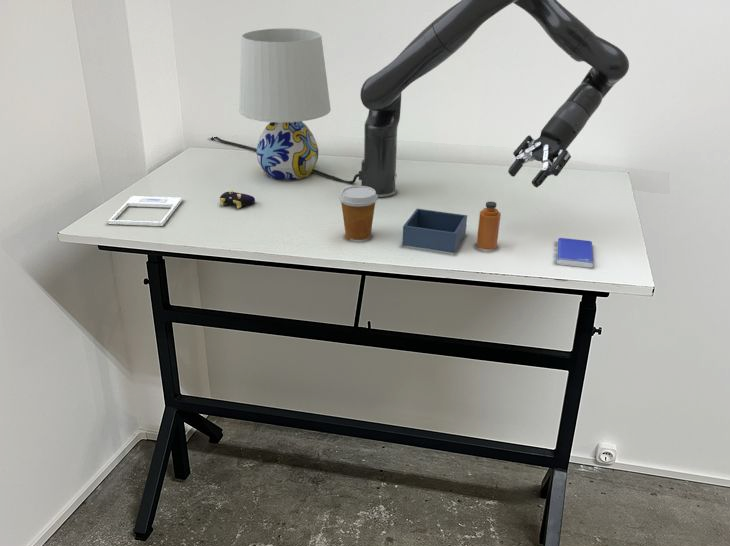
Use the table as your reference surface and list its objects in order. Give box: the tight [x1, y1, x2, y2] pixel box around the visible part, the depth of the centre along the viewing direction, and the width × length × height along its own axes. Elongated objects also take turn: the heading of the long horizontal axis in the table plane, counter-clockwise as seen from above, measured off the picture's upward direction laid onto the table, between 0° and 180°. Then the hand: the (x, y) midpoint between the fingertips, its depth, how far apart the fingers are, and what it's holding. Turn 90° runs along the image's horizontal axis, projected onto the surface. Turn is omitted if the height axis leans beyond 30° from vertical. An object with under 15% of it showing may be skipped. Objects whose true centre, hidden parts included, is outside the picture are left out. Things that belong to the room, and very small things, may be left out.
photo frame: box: [107, 195, 183, 227], centre depth 195 cm, size 15×1×18 cm
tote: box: [401, 208, 468, 254], centre depth 178 cm, size 13×12×6 cm
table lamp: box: [238, 27, 332, 181], centre depth 212 cm, size 27×27×40 cm
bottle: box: [476, 201, 501, 251], centre depth 174 cm, size 5×5×12 cm
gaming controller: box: [219, 189, 256, 209], centre depth 200 cm, size 10×5×6 cm
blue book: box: [556, 237, 594, 269], centre depth 172 cm, size 2×8×12 cm
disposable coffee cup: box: [338, 185, 379, 241], centre depth 179 cm, size 10×10×12 cm
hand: (522, 179), depth 172 cm, fingers open, 8 cm apart
